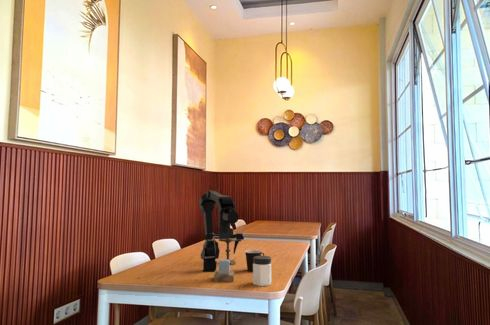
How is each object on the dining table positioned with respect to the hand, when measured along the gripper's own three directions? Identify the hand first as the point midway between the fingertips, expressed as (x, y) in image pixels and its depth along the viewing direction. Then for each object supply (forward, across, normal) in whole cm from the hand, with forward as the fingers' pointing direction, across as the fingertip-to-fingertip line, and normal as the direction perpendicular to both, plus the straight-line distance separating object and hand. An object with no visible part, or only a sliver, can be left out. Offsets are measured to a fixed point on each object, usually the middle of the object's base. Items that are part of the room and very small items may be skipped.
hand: (224, 254), depth 173 cm
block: (+9, 0, -1) cm, 9 cm away
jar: (+12, +18, -9) cm, 23 cm away
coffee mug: (+12, +16, +18) cm, 27 cm away
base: (+12, 0, -1) cm, 12 cm away
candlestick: (+12, +1, +36) cm, 38 cm away
